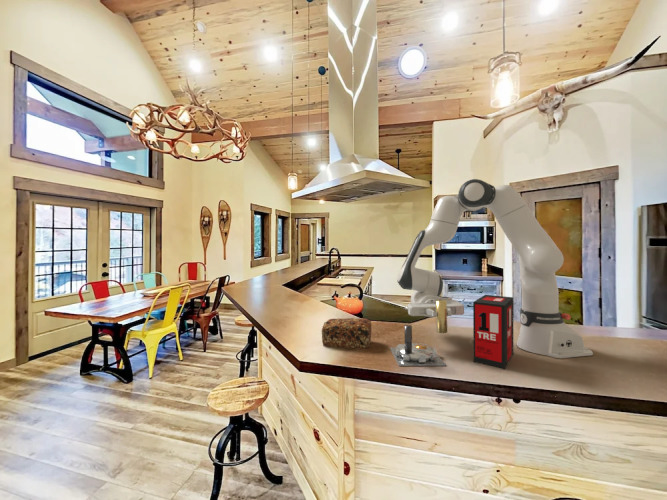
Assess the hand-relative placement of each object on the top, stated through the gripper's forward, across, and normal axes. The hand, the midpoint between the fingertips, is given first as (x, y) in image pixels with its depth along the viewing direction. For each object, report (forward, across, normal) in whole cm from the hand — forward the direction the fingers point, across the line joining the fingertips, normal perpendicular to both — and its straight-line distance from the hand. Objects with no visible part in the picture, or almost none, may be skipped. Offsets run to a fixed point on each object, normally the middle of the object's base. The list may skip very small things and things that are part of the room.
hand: (442, 313), depth 99 cm
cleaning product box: (+2, +16, +15) cm, 22 cm away
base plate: (+1, -10, +14) cm, 18 cm away
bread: (-12, -34, +14) cm, 39 cm away
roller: (-1, 0, +6) cm, 7 cm away
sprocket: (+1, -10, +14) cm, 18 cm away
